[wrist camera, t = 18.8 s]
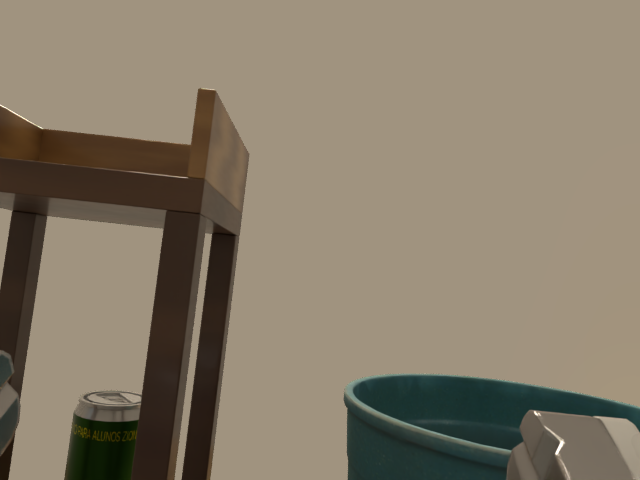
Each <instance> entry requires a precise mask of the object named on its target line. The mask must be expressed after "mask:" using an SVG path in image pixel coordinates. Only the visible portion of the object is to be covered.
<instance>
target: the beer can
mask: <svg viewBox="0 0 640 480" xmlns="http://www.w3.org/2000/svg"><path fill="white" fill-rule="evenodd" d="M141 398H142V394H140V393H135V392H128V391H115V390H106V391H93V392H88V393H85V394H82V395H80V398H79V404H78V405H77V407H76V409H75V411H74V415H73V422H72V429H71V436H70V443H69V450H68V458H67V464H66V471H65V479H64V480H131V474H132V467H133V459H134V451H135V444H136V436H137V428H138V421H139V413H140V406H141Z"/></svg>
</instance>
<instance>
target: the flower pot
mask: <svg viewBox="0 0 640 480" xmlns="http://www.w3.org/2000/svg"><path fill="white" fill-rule="evenodd" d="M344 402H345V405H346V407H347V408H348V410H347V414H348V415H347V456H348V480H506V475H507V464H508V460H509V457H510V454H511V451H512V449H513V448H515V447H516V446H517V445H519V444H520V443H522V442H523V441H524V440H523V437H522V434H521V432H520V429H519V428H520V425H521V422H522V420H523V417H524V416H525V414H526V413H527V412H528V411H529V410H536V411H546V412H555V413H565V414H574V415H584V416H591V417H593V416H600V417H611V418H622V419H627V420H629V421H630V422H632V423H633V424H634V425H635V426H636V427H637V429H638V430H639V432H640V407H637V406H634V405H630V404H626V403H622V402H618V401H614V400H609V399H605V398H600V397H596V396H591V395H586V394H581V393H577V392H572V391H566V390H560V389H555V388H549V387H543V386H537V385H531V384H524V383H518V382H511V381H504V380H496V379H487V378H479V377H469V376H458V375H440V374H386V375H376V376H370V377H364V378H360V379H357V380H354V381H352V382H350V383H349V384H348V385H347V386H346V387H345V389H344Z"/></svg>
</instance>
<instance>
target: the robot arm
mask: <svg viewBox="0 0 640 480" xmlns="http://www.w3.org/2000/svg"><path fill="white" fill-rule="evenodd" d="M13 373H14V367H13V363H12V358H11V355H10V354H8V353H6V352H4V351H2V350H0V456H1V455H2V454H3V452H4V451H5V449H6V448H7V447H8V445H9V444H10V442H11V441H12V439H13V436H14V434H15V431H16V428H17V426H18V423H19V417H20V400H19V394H18V393H17V392H16V391H15V390H14V389H13V388H12V387H11V386H10V385H9V384H8V383H7V381H8V380H9V378H10V377H11V376H12V375H13ZM519 429H520V432H521V434H522V437H523V440H524V441H523V442H522V443H520V444H519V445H517V446H516V447H515V448H513V449H512V451H511V454H510V457H509V460H508V464H507V475H506V480H640V432H639V430H638V429H637V427H636V426H635V425H634V424H633V423H632V422H630V421H629V420H627V419H622V418H611V417H600V416H593V417H591V416H584V415H574V414H565V413H555V412H546V411H536V410H529V411H528V412H527V413H526V414H525V416H524V417H523V420H522V422H521V425H520V428H519Z"/></svg>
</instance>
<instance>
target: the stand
mask: <svg viewBox="0 0 640 480" xmlns="http://www.w3.org/2000/svg"><path fill="white" fill-rule="evenodd" d="M248 161H249V153H248V151H247V149H246V147H245V146H244V144H243V142H242V140H241V138H240V136H239V134H238V132H237V130H236V128H235V126H234V124H233V122H232V121H231V119H230V117H229V115H228V113H227V111H226V109H225V107H224V105H223V103H222V101H221V100H220V98H219V96H218V94H217V92H216V91H215V90H212V89H203V88H200V89H198V95H197V103H196V111H195V118H194V126H193V134H192V142H191V145H187V144H178V143H168V142H160V141H150V140H141V139H132V138H122V137H113V136H103V135H95V134H85V133H76V132H67V131H58V130H49V129H42V128H40V127H39V126H37V125H35V124H33V123H32V122H30V121H28V120H26V119H24V118H23V117H21V116H19V115H17V114H15V113H14V112H12V111H10V110H8V109H7V108H5V107H3V106H1V105H0V208H4V209H8V210H12V216H11V223H10V229H9V237H8V242H7V249H6V255H5V262H4V268H3V275H2V282H1V289H0V350H2V351H4V352H6V353H8V354H10V355H11V358H12V363H13V367H14V373H13V375H12V376H11V377H10V378H9V380H8V381H7V383H8V384H9V385H10V386H11V387H12V388H13V389H14V390H15V391H16V392H17V393H18V394H19V400H20V397H21V390H22V383H23V376H24V370H25V362H26V356H27V349H28V342H29V336H30V329H31V322H32V316H33V309H34V302H35V295H36V289H37V282H38V275H39V269H40V261H41V255H42V248H43V241H44V235H45V228H46V220H47V216H52V217H62V218H71V219H80V220H89V221H98V222H108V223H117V224H127V225H136V226H144V227H154V228H163V229H164V231H163V238H162V246H161V253H160V261H159V269H158V276H157V284H156V291H155V299H154V306H153V314H152V322H151V330H150V337H149V345H148V352H147V360H146V368H145V375H144V383H143V390H142V398H141V406H140V413H139V421H138V428H137V436H136V444H135V451H134V459H133V467H132V474H131V480H174V477H175V469H176V461H177V453H178V445H179V437H180V429H181V421H182V413H183V405H184V397H185V389H186V381H187V374H188V366H189V357H190V349H191V341H192V334H193V326H194V318H195V309H196V302H197V294H198V285H199V278H200V269H201V262H202V253H203V246H204V238H205V233H209V234H212V240H211V247H210V256H209V265H208V272H207V280H206V289H205V296H204V304H203V312H202V320H201V328H200V336H199V344H198V352H197V360H196V368H195V376H194V385H193V392H192V401H191V409H190V417H189V425H188V433H187V441H186V449H185V457H184V465H183V473H182V480H210V476H211V468H212V459H213V450H214V443H215V434H216V425H217V418H218V409H219V401H220V392H221V384H222V376H223V368H224V359H225V351H226V343H227V335H228V326H229V318H230V310H231V301H232V293H233V285H234V276H235V268H236V260H237V251H238V243H239V235H240V227H241V219H242V210H243V202H244V194H245V186H246V177H247V169H248ZM14 437H15V434H14V436H13V439H12V441H11V442H10V444H9V445H8V447H7V448H6V449H5V451H4V452H3V454H2V455H1V456H0V480H8V478H9V471H10V464H11V457H12V451H13V443H14Z"/></svg>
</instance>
